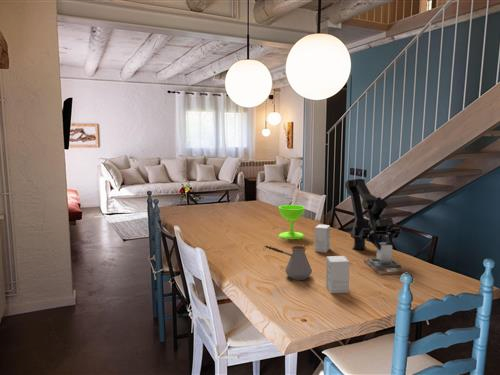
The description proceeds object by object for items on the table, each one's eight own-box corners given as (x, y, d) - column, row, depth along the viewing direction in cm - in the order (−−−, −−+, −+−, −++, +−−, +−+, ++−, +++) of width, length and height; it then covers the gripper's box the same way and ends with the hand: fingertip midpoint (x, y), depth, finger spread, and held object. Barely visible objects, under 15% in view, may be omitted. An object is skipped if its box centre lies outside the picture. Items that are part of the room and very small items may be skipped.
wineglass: (304, 233, 243) (304, 205, 241) (305, 239, 227) (305, 209, 225) (278, 232, 245) (278, 204, 242) (278, 239, 229) (278, 209, 227)
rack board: (363, 261, 186) (364, 257, 186) (389, 260, 187) (390, 256, 187) (379, 274, 168) (380, 270, 168) (408, 273, 169) (408, 268, 169)
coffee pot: (305, 271, 173) (306, 238, 172) (316, 280, 162) (316, 245, 161) (260, 275, 168) (259, 242, 166) (267, 285, 157) (267, 249, 155)
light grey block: (376, 261, 181) (377, 242, 180) (386, 260, 182) (387, 242, 180) (381, 264, 176) (381, 245, 175) (391, 264, 177) (392, 245, 175)
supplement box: (343, 285, 156) (344, 255, 154) (349, 293, 148) (349, 261, 147) (325, 286, 156) (326, 255, 154) (330, 293, 148) (330, 261, 147)
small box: (318, 247, 211) (318, 224, 210) (329, 248, 209) (330, 225, 207) (314, 251, 204) (314, 227, 202) (326, 252, 201) (326, 228, 200)
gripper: (362, 211, 179) (371, 241, 170) (400, 210, 181) (411, 239, 172) (355, 224, 188) (363, 253, 179) (392, 223, 190) (402, 251, 180)
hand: (385, 249), depth 177 cm, fingers closed on light grey block, 5 cm apart
